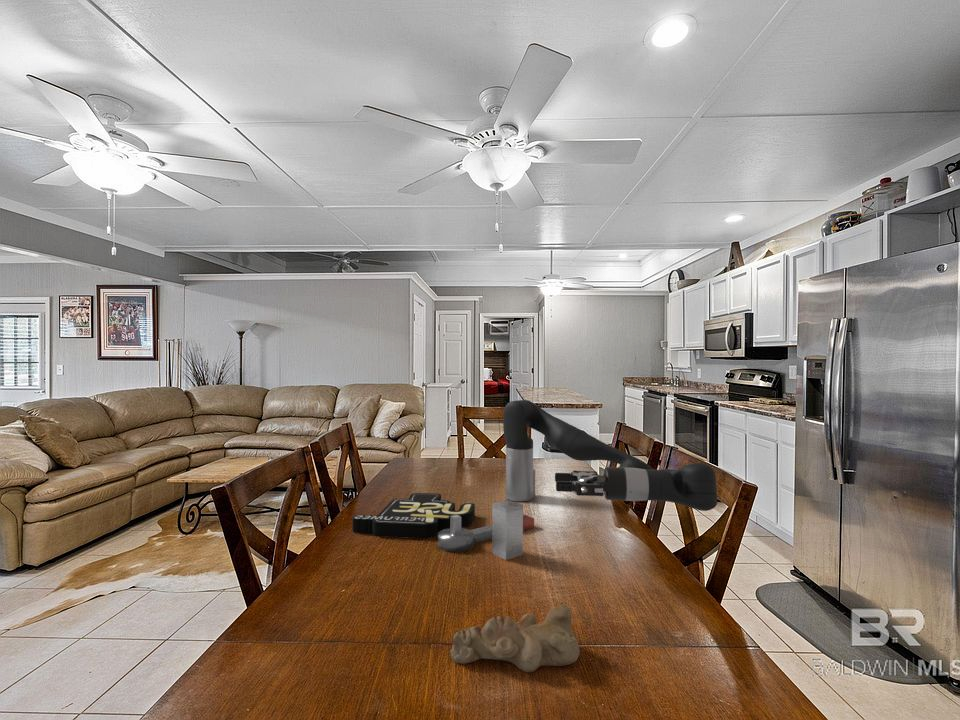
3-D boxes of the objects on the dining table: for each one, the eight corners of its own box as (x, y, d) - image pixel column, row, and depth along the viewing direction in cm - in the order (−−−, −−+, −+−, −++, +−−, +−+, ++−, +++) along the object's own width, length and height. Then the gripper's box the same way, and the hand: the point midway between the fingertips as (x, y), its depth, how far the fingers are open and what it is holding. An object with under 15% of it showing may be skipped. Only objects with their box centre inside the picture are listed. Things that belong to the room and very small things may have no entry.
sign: (347, 521, 129) (381, 491, 158) (347, 536, 129) (381, 504, 158) (466, 526, 125) (478, 494, 155) (466, 542, 125) (478, 507, 155)
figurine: (586, 639, 71) (449, 638, 70) (583, 685, 72) (448, 685, 71) (568, 589, 83) (451, 588, 82) (566, 630, 84) (451, 629, 83)
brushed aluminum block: (508, 548, 120) (509, 499, 120) (522, 555, 116) (522, 505, 116) (492, 553, 117) (492, 503, 117) (505, 560, 113) (506, 508, 113)
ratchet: (519, 521, 141) (519, 496, 141) (540, 530, 133) (540, 504, 133) (431, 543, 123) (431, 515, 123) (450, 554, 116) (450, 524, 116)
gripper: (631, 509, 106) (556, 506, 108) (620, 492, 120) (554, 489, 122) (631, 474, 106) (556, 472, 108) (620, 461, 120) (554, 459, 122)
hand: (555, 481), depth 115 cm, fingers open, 8 cm apart
